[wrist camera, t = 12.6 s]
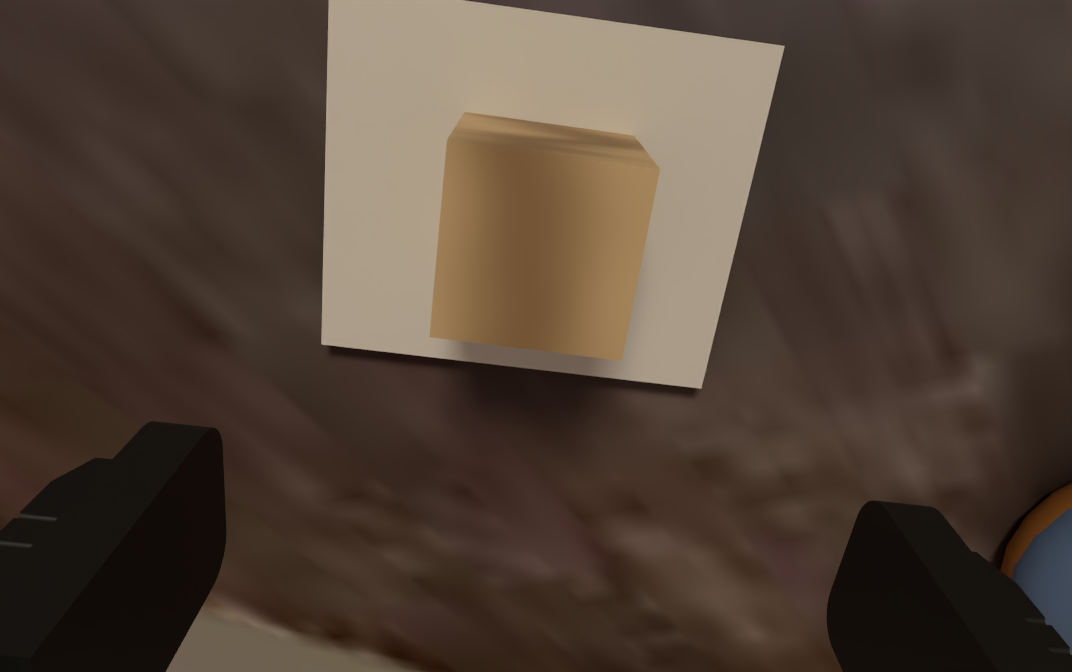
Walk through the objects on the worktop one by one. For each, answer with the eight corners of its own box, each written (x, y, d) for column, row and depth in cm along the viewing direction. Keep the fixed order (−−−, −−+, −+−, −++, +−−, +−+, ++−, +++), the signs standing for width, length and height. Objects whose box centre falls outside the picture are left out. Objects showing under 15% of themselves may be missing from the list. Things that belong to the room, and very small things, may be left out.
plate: (777, 45, 24) (784, 46, 24) (697, 379, 29) (701, 388, 28) (335, -18, 24) (329, -19, 23) (326, 335, 28) (321, 344, 28)
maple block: (634, 135, 25) (660, 169, 20) (605, 294, 27) (621, 360, 22) (464, 111, 24) (447, 139, 19) (449, 273, 27) (429, 337, 22)
